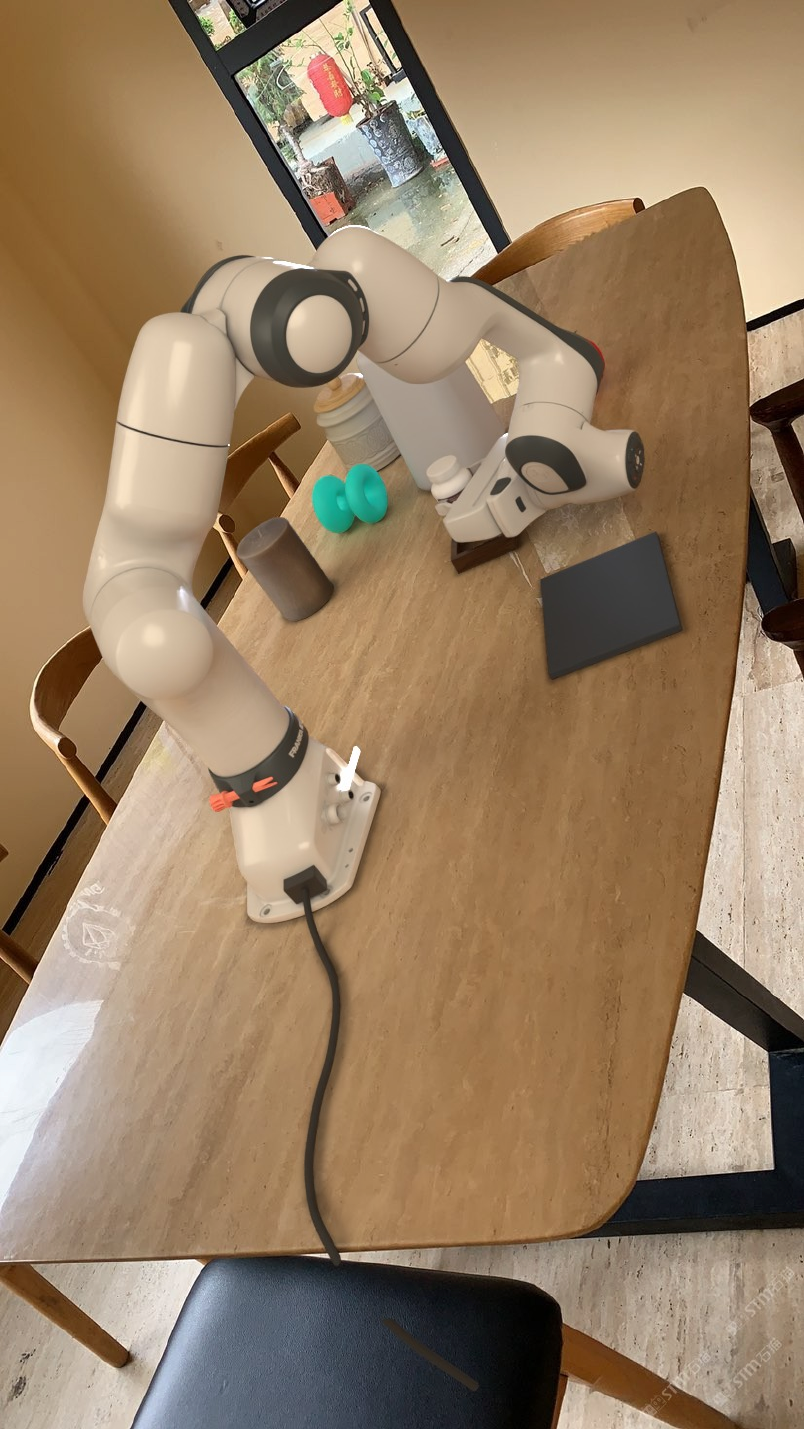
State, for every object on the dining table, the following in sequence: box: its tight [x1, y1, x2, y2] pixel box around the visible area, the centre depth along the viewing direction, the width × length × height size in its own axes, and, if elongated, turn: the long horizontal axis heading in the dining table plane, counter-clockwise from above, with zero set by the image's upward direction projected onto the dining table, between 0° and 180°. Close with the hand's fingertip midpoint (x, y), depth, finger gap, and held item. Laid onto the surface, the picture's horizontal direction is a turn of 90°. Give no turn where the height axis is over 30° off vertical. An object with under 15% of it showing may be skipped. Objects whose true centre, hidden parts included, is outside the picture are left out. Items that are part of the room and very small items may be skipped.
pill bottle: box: [427, 455, 473, 517], centre depth 148 cm, size 6×6×11 cm
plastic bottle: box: [355, 351, 506, 492], centre depth 168 cm, size 15×15×28 cm
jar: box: [313, 372, 401, 472], centre depth 191 cm, size 13×13×18 cm
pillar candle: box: [235, 516, 335, 622], centre depth 164 cm, size 10×10×15 cm
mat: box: [539, 531, 684, 680], centre depth 127 cm, size 20×16×1 cm
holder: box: [450, 533, 518, 575], centre depth 152 cm, size 9×9×2 cm
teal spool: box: [311, 464, 389, 534], centre depth 176 cm, size 10×10×10 cm
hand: (450, 491), depth 148 cm, fingers closed on pill bottle, 6 cm apart
